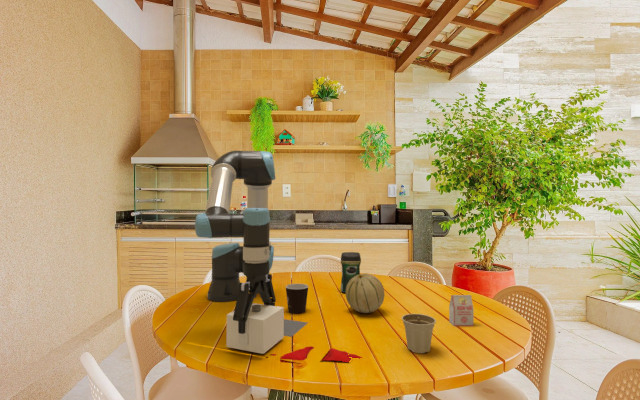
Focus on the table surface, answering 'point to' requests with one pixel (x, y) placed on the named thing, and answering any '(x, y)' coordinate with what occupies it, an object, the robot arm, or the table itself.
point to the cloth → (330, 355)
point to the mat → (292, 327)
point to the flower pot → (418, 332)
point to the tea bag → (461, 310)
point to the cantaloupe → (365, 293)
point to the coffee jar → (349, 267)
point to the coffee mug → (296, 298)
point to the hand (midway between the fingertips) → (256, 335)
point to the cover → (258, 328)
